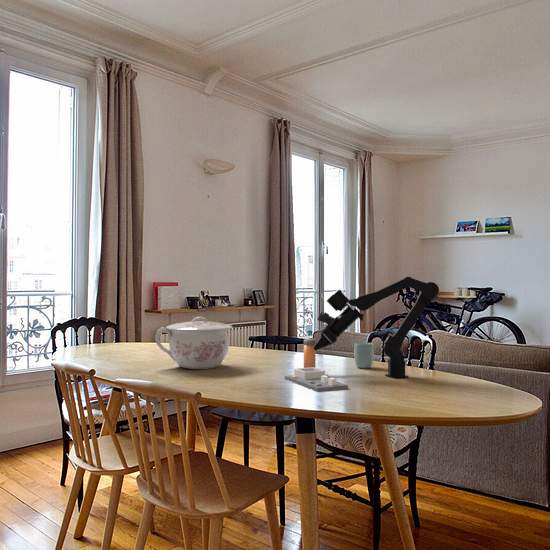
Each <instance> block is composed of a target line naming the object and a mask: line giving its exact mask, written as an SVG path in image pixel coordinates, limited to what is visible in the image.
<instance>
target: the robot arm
mask: <svg viewBox="0 0 550 550" xmlns="http://www.w3.org/2000/svg"><path fill="white" fill-rule="evenodd" d="M407 288H409V289H413V290H417V291H419V292H418V293H419V294H418V296H417V299H416V301H415V303H414V304H413V306H412V308H411V309H410V310H409V312H408V313H407V315H406V316H405V318H404V320H403V321H402V322H401V324H400V325H399V327H398V328H397V331H395V332H394V333H393V334H391V333H388V336H387V338H386V340H384V341H383V344H384V345H383V353H384V354H385V356H387V357H388V358H389V359H388V360H387V361H388V363H387V373H385V374H384V376H386V377H388V378H392V379H399V378H400V379H402V378H409V375H408V374H406V360H405V359H406V355H405V353H404V352H403V351H402V350H401V349H402V347H403V344H404V341H405V338H406V337H407V335H408V334H409V333H410V331H411V329H412V327H413V326H414V325H415V323H416V321H417V320H418V319H419V317H420V316H421V314H422V313H423V311H424V310H425V307H427V306H428V304H430V303H431V302H432V301H433V300H434V299H435V298H436V297H437V296H438V294H439V293H440V289H439V285H438V284H437V283H435V282H433V281H426V282H424V281H422V280H421V281H420V280H418V279H415V278H413V277H411V276H405V277H404V278H402V279H400V280H398V281H396V282H394V283H391V284H390V285H388V286H386V287H384V288H381V289H379V290H377V291H373V292H369V293H365V294H362V295H360V296H358V297H357V298H350V299H349V298H348V297H347V296H346V295H345V294H344V293H343V291H342V290H341V289H337V291H336V292H335V293H333V294H332V295H331V296H330V297H329V298H327V300H326V302H327V303H328V304H329V305H330V306H331V307H332V309H334V310H335V312H338V311H339V312H341V313H340V314H339V315H337V316H336V317H333V316H331V315H330V314H329V313H327V312H326V311H325V312H323V311H321V312H319V315H318V317H317V319H316V320H317V321H319V322H322V323H325V324H326V326H325V328H323V329H322V330H321V332H320V336H321V337H320V339H319V340H318V341H317V343H316V346H315V347H314V350H316V351H318V350H320V349H323V348H326V347H328V346H330V345H333V344H335V343H336V342H337V340H338V338H339V337H340V336H341V335H342V334H343V333H344V332H345V331H347V329H349V328H350V327H351V326H352V324H354V323H355V322H356V321H357V320H358V319H359V320H360V321H364V315H365V313H361V312H365V311H367V310H369V309H370V308H372V307H373V306H374V305H376V304H377V303H379V302H380V301H383V300H385V299H386V298H388V297H390V296H393V295H394V294H397V293H399V292H401V291H404V290H405V289H407ZM352 307H355V308H352ZM360 311H361V312H360Z"/></svg>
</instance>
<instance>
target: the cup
mask: <svg viewBox="0 0 550 550" xmlns="http://www.w3.org/2000/svg"><path fill="white" fill-rule="evenodd" d="M374 346H375V345H374V343H372V342H365V341H364V342H363V341H362V342H354V346H353V347H354V348H353V350H354V351H353V352H354V353H353V354H354V363H355V366H356V367H357V368H359V369H370V368H371V367H372V365H373V363H374V356H375V355H374V348H375V347H374Z"/></svg>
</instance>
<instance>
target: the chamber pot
mask: <svg viewBox="0 0 550 550" xmlns="http://www.w3.org/2000/svg"><path fill="white" fill-rule="evenodd" d="M232 328H234V326H233V325H231V324H227V323H222V322H219V321H218V322H217V321H216V322H215V321H208V320H207V318H205V317H204V316H196V317H194V318H193V319H192V320H191V321H184V322H177V323H173V324H169V325H167V326H165V327H164V326H162V327H160V328H159V329H158V330H157V331H156V333H155V335H154V337H155V338H154V340H155V341H154V342H155V343H156V345H157V346H158V348H159V349H160V350H162V351H163V352H165V353H166V354H167V355H168V356H169V357H170V358H171V359H172V360H173V361H174V362H175V363H176V364H177V365H178V366H179V367H180V368H183V369H186V368H188V369H187V370H193V369H203V370H208V369H207V368H211V369H214V368H217V367H219V366H220V365H222V363H223V361H224V360H225V358H226V356H227V355H228V351H229V348H230V337H229V335H228V333H227V332H228V331H229V330H231V329H232ZM161 333H166V334H167V335H168V336H167V340H168V346H169V349H167V348H166V347H164V345H163V344H162V343H161V341H160V335H161Z"/></svg>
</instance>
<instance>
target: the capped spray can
mask: <svg viewBox="0 0 550 550" xmlns="http://www.w3.org/2000/svg"><path fill="white" fill-rule="evenodd" d="M316 342H317V340H316V339H315V338H314V339H311V338H306V339H303V368H311V367H315V368H317V367H316V363H317V362H316V358H317V355H316V352H317V350H314V347H315V346H316V344H317V343H316Z"/></svg>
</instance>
